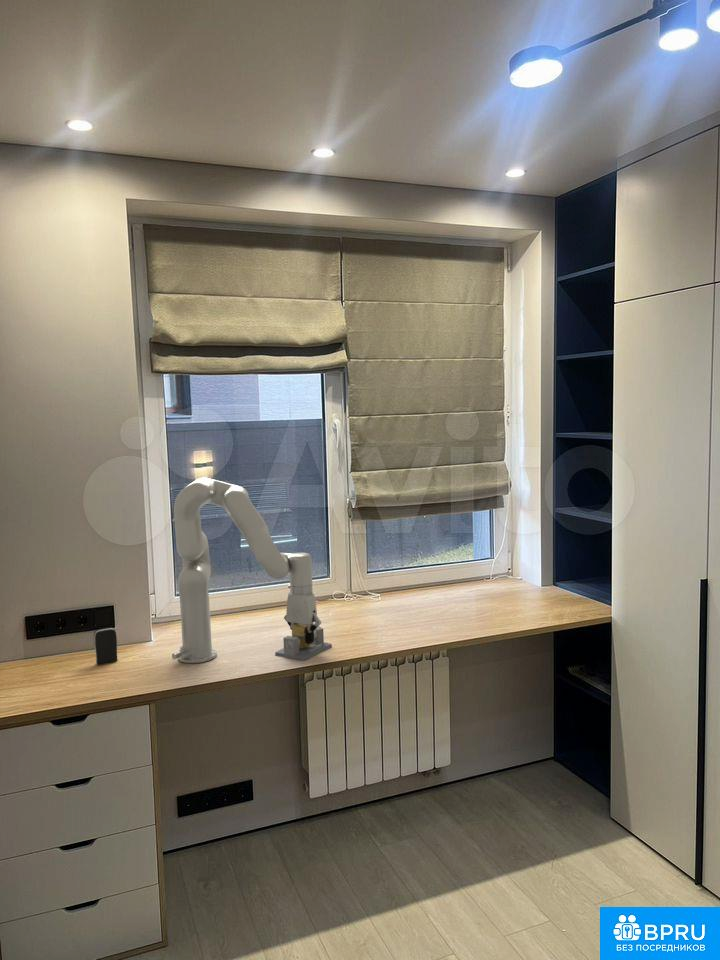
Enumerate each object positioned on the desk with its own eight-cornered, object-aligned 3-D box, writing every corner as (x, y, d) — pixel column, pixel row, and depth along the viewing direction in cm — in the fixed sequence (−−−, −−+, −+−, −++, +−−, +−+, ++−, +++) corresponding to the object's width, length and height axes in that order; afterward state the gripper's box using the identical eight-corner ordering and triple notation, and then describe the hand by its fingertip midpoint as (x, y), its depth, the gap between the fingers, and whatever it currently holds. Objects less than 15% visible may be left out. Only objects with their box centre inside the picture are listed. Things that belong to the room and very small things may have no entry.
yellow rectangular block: (304, 648, 238) (304, 628, 237) (292, 646, 240) (291, 625, 240) (313, 644, 242) (313, 624, 241) (301, 641, 245) (300, 621, 244)
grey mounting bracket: (303, 660, 231) (303, 641, 231) (275, 655, 238) (274, 636, 237) (332, 646, 245) (331, 627, 245) (304, 641, 252) (304, 623, 251)
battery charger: (115, 658, 239) (113, 625, 238) (118, 661, 236) (116, 628, 235) (94, 663, 235) (91, 629, 234) (96, 666, 232) (94, 632, 231)
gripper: (274, 589, 241) (276, 641, 243) (315, 594, 232) (317, 648, 233) (288, 584, 247) (290, 635, 249) (328, 589, 238) (330, 642, 240)
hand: (303, 641), depth 241 cm, fingers open, 5 cm apart
